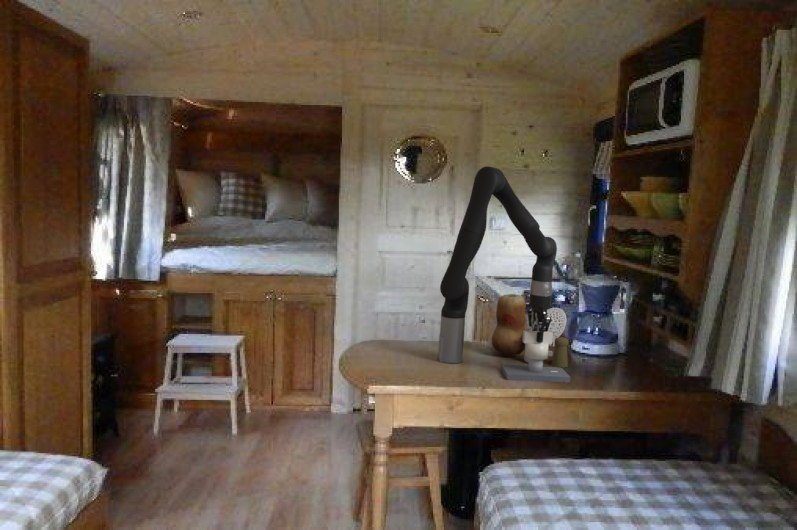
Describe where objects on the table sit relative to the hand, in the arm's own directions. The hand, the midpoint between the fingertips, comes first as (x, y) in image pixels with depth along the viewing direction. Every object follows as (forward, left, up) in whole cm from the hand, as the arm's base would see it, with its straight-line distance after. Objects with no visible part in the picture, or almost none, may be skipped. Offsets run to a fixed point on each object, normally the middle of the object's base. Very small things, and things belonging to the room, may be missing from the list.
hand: (537, 341), depth 218 cm
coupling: (0, 0, -6) cm, 6 cm away
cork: (+13, +16, -13) cm, 25 cm away
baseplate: (0, 0, -13) cm, 13 cm away
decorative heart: (+14, +46, -13) cm, 50 cm away
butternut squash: (-5, +27, -13) cm, 30 cm away
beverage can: (+3, +19, -13) cm, 23 cm away
